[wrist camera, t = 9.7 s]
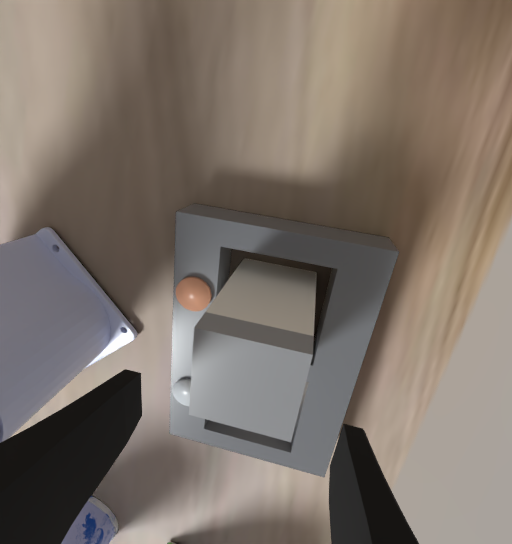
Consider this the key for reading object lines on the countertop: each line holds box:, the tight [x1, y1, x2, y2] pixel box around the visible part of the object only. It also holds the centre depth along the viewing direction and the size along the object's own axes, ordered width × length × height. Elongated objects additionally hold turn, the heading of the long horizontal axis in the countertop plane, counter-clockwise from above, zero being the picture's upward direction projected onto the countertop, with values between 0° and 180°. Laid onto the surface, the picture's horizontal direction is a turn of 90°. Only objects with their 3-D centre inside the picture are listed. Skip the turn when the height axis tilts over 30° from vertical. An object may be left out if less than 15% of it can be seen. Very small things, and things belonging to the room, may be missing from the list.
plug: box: [189, 258, 317, 442], centre depth 16 cm, size 4×4×8 cm
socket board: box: [169, 203, 399, 477], centre depth 19 cm, size 16×11×3 cm
